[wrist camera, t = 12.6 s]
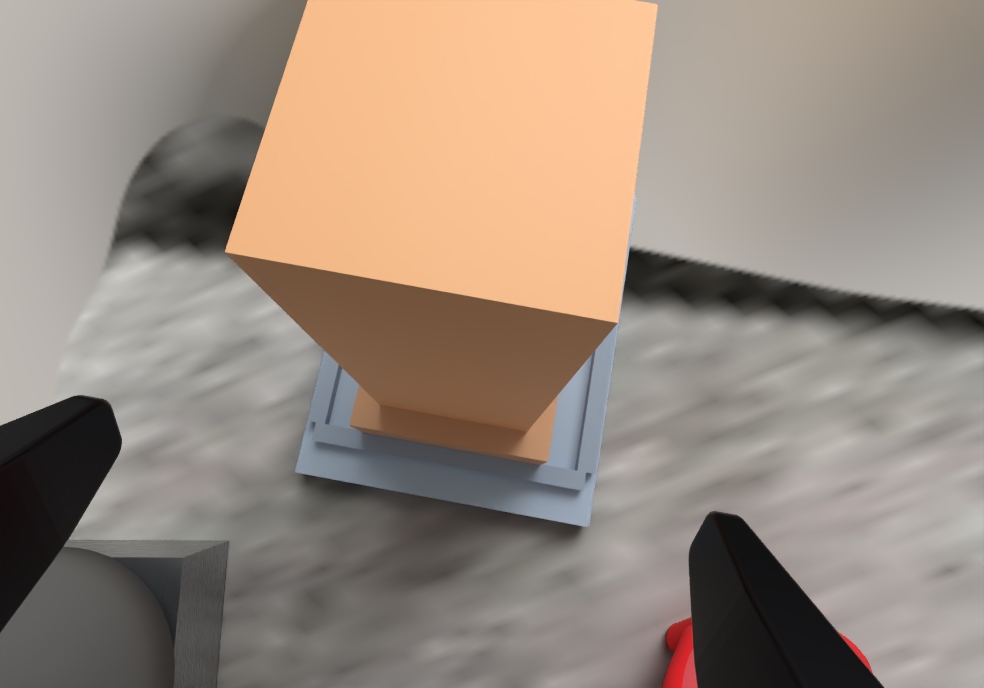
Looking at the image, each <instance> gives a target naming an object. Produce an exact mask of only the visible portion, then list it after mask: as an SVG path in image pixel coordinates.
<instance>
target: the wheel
mask: <svg viewBox="0 0 984 688" xmlns="http://www.w3.org/2000/svg"><path fill="white" fill-rule="evenodd" d="M174 675H175V659H174V647H173V642H172V637H171V633H170V628H169V626H168V623H167V620H166V617H165V615H164V612H163V610H162V608H161V607H160V605H159V603H158V601H157V599H156V597H155V596H154V595H153V593H152V592H151V591H150V589H149V588H148V586H147V585H146V584H145V583H144V582H143V581H142V580H141V579H140V578H139V577H138V576H137V575H136V574H135V573H134V572H132V571H131V570H130V569H129V568H127V567H126V566H125V565H123V564H122V563H120V562H118V561H116V560H114V559H113V558H111V557H109V556H106V555H103V554H101V553H98V552H95V551H92V550H87V549H82V548H76V547H63V548H62V549H61V551H60V552H59V554H58V555H57V557H56V558H55V559H54V561H53V562H52V564H51V565H50V566H49V568H48V569H47V570H46V572H45V573H44V574H43V576H42V577H41V579H40V580H39V581H38V583H37V584H36V585H35V587H34V588H33V589H32V591H31V592H30V593H29V595H28V596H27V598H26V599H25V600H24V602H23V603H22V604H21V606H20V607H19V608H18V610H17V611H16V613H15V614H14V615H13V617H12V618H11V619H10V621H9V622H8V623H7V625H6V626H5V627H4V629H3V630H2V632H1V633H0V688H173V687H174Z"/></svg>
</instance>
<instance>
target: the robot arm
mask: <svg viewBox="0 0 984 688" xmlns="http://www.w3.org/2000/svg"><path fill="white" fill-rule="evenodd" d="M121 445H122V438H121V435H120V431H119V428H118V425H117V422H116V419H115V416H114V412H113V409H112V407H111V405H110V403H109V402H108V401H107V400H104V399H100V398H95V397H89V396H84V395H77V396H73V397H70V398H68V399H65V400H63V401H60V402H58V403H55V404H53V405H50V406H48V407H46V408H43V409H41V410H38V411H36V412H33V413H31V414H28V415H26V416H23V417H21V418H18V419H16V420H13V421H11V422H8V423H6V424H4V425H1V426H0V633H1V632H2V630H3V629H4V627H5V626H6V625H7V623H8V622H9V621H10V619H11V618H12V617H13V615H14V614H15V613H16V611H17V610H18V608H19V607H20V606H21V604H22V603H23V602H24V600H25V599H26V598H27V596H28V595H29V593H30V592H31V591H32V589H33V588H34V587H35V585H36V584H37V583H38V581H39V580H40V579H41V577H42V576H43V574H44V573H45V572H46V570H47V569H48V568H49V566H50V565H51V564H52V562H53V561H54V559H55V558H56V557H57V555H58V554H59V552H60V551H61V549H62V548H63V547H64V545H65V543H66V542H67V540H68V539H69V537H70V536H71V534H72V533H73V531H74V529H75V528H76V526H77V524H78V523H79V521H80V519H81V518H82V516H83V514H84V512H85V511H86V509H87V507H88V506H89V504H90V502H91V501H92V499H93V497H94V496H95V494H96V492H97V491H98V489H99V487H100V486H101V484H102V482H103V481H104V479H105V477H106V475H107V474H108V472H109V470H110V469H111V467H112V465H113V464H114V462H115V460H116V459H117V457H118V455H119V453H120V450H121ZM689 577H690V597H691V616H692V636H693V652H694V665H695V672H696V680H697V687H698V688H884V687H883V685H882V684H881V683H880V682H879V681H878V679H877V678H876V677H875V676H874V675H873V673H872V672H871V671H870V670H869V669H868V667H867V666H866V665H865V664H864V663H863V661H862V660H861V659H860V658H859V657H858V656H857V654H856V653H855V652H854V651H853V650H852V648H851V647H850V646H849V645H848V644H847V642H846V641H845V640H844V639H843V638H842V636H841V635H840V634H839V633H838V632H837V630H836V629H835V628H834V627H833V626H832V625H831V623H830V622H829V621H828V620H827V619H826V617H825V616H824V615H823V614H822V613H821V611H820V610H819V609H818V608H817V607H816V605H815V604H814V603H813V602H812V601H811V599H810V598H809V597H808V596H807V595H806V594H805V592H804V591H803V590H802V589H801V588H800V586H799V585H798V584H797V583H796V582H795V580H794V579H793V578H792V577H791V576H790V574H789V573H788V572H787V571H786V570H785V568H784V567H783V566H782V565H781V564H780V563H779V561H778V560H777V559H776V558H775V557H774V555H773V554H772V553H771V552H770V551H769V549H768V548H767V547H766V546H765V545H764V543H763V542H762V541H761V540H760V539H759V537H758V536H757V535H756V534H755V533H754V532H753V530H752V529H751V528H750V527H749V526H748V524H747V523H746V522H745V521H744V520H743V519H742V518H741V517H739V516H737V515H734V514H728V513H723V512H717V511H712V512H710V513H709V514H708V515H707V516H706V518H705V520H704V522H703V524H702V525H701V527H700V529H699V531H698V533H697V535H696V536H695V538H694V540H693V542H692V544H691V547H690V551H689Z"/></svg>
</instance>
